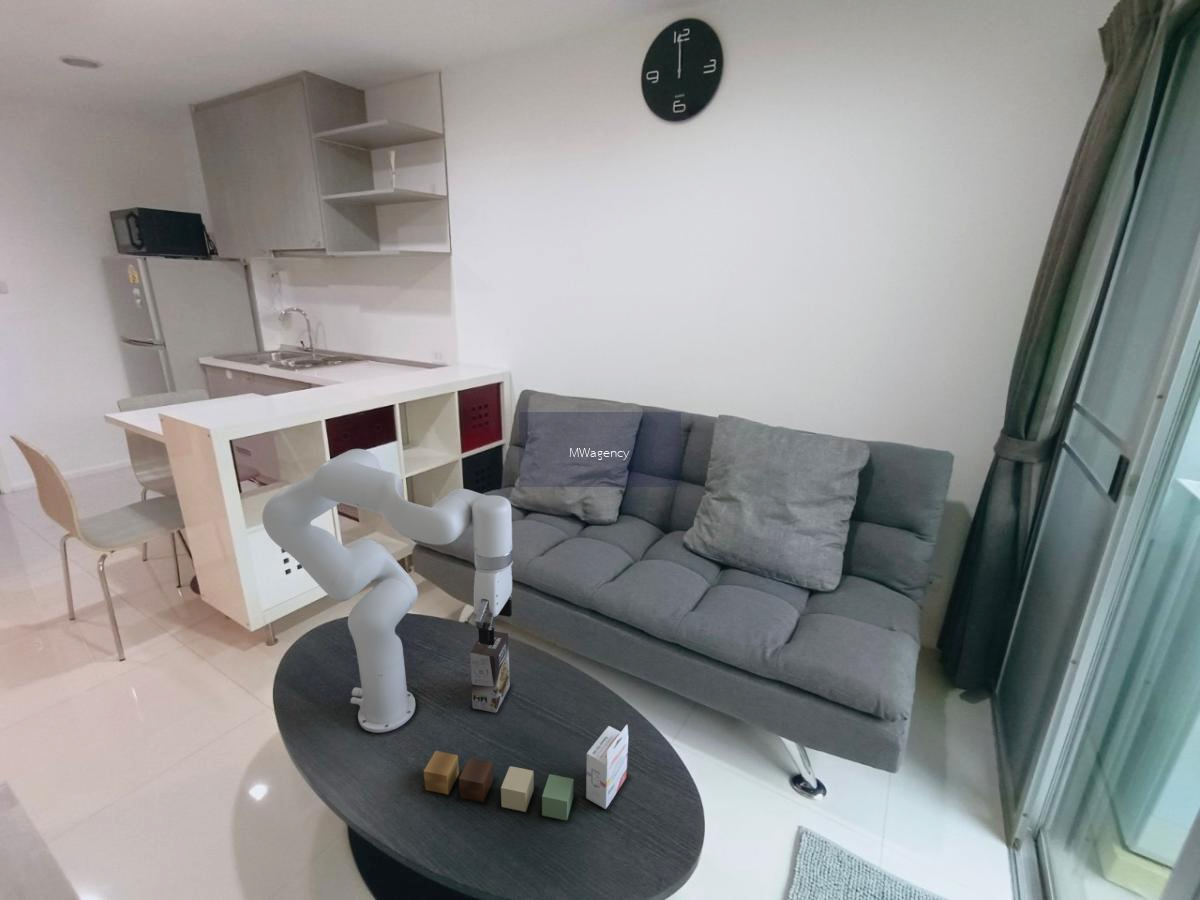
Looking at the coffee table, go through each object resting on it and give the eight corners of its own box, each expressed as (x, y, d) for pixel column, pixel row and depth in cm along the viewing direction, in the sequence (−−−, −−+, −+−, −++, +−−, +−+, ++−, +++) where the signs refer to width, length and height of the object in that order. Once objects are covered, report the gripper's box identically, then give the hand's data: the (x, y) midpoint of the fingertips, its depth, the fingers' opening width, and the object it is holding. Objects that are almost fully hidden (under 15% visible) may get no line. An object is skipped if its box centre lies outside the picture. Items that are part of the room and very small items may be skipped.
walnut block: (460, 797, 109) (458, 778, 108) (470, 775, 114) (469, 757, 112) (483, 802, 108) (482, 783, 107) (493, 780, 113) (492, 762, 111)
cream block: (501, 806, 108) (500, 787, 106) (510, 784, 112) (509, 765, 111) (525, 812, 107) (525, 793, 105) (533, 789, 111) (533, 770, 110)
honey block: (425, 789, 111) (423, 771, 109) (437, 768, 115) (435, 750, 114) (448, 794, 110) (446, 776, 108) (459, 773, 114) (458, 755, 113)
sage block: (541, 815, 106) (541, 796, 105) (549, 792, 111) (549, 773, 109) (567, 820, 105) (567, 801, 104) (573, 797, 110) (573, 778, 108)
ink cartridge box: (606, 767, 117) (609, 712, 112) (626, 778, 114) (630, 723, 110) (584, 798, 110) (586, 741, 105) (605, 811, 107) (608, 753, 103)
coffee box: (497, 713, 130) (495, 657, 125) (471, 708, 131) (468, 652, 126) (510, 686, 138) (509, 632, 133) (486, 681, 139) (484, 628, 134)
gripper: (492, 534, 118) (494, 602, 124) (456, 576, 102) (461, 652, 108) (525, 539, 117) (526, 607, 123) (494, 582, 101) (497, 659, 106)
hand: (496, 628), depth 115 cm, fingers open, 9 cm apart
